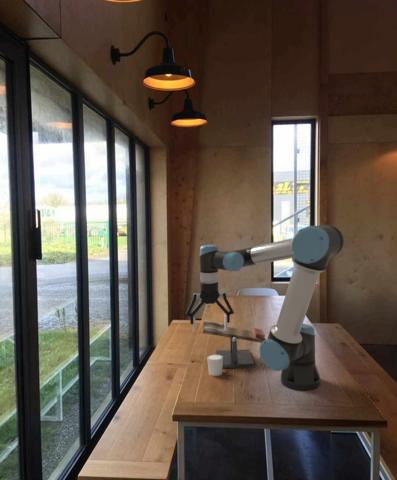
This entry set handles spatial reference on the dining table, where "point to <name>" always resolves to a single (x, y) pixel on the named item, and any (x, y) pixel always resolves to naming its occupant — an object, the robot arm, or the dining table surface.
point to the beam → (233, 332)
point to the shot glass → (215, 364)
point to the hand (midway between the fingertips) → (210, 330)
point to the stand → (236, 356)
